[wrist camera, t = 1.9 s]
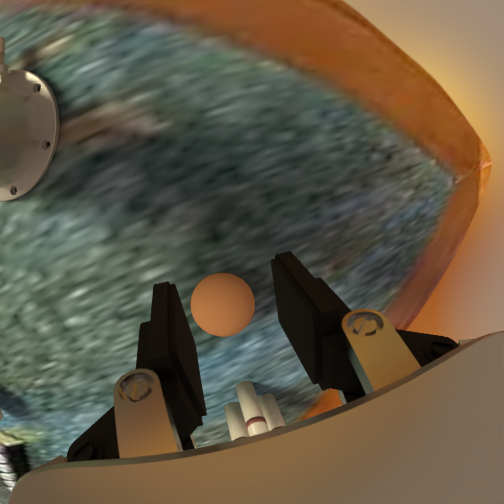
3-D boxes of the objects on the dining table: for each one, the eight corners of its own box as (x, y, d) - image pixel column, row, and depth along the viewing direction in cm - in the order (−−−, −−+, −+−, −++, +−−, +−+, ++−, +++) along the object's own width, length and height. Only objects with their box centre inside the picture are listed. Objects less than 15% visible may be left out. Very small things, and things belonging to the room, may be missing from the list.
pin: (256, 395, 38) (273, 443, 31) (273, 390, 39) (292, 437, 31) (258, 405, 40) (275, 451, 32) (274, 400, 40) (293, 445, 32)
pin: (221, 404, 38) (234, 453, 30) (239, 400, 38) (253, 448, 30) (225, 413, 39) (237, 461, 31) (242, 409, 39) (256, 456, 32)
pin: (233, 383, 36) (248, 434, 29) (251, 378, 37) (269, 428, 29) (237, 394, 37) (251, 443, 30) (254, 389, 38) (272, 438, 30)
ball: (182, 270, 29) (184, 303, 23) (241, 255, 29) (257, 285, 24) (197, 318, 31) (202, 356, 26) (250, 305, 32) (266, 339, 27)
